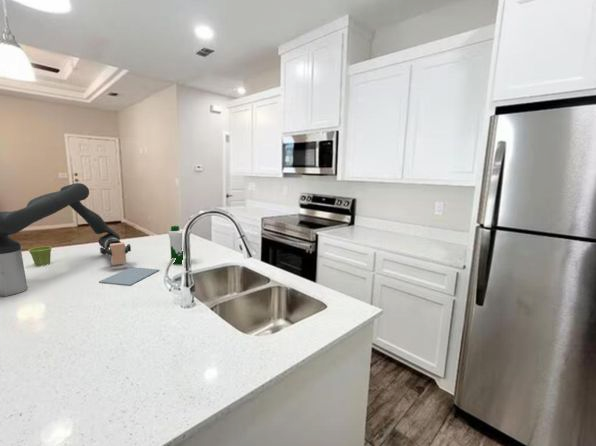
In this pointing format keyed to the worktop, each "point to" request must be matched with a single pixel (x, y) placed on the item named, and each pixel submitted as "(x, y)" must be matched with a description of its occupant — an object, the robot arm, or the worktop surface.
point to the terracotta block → (118, 253)
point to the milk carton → (176, 244)
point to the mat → (129, 276)
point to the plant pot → (41, 255)
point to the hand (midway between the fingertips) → (118, 252)
